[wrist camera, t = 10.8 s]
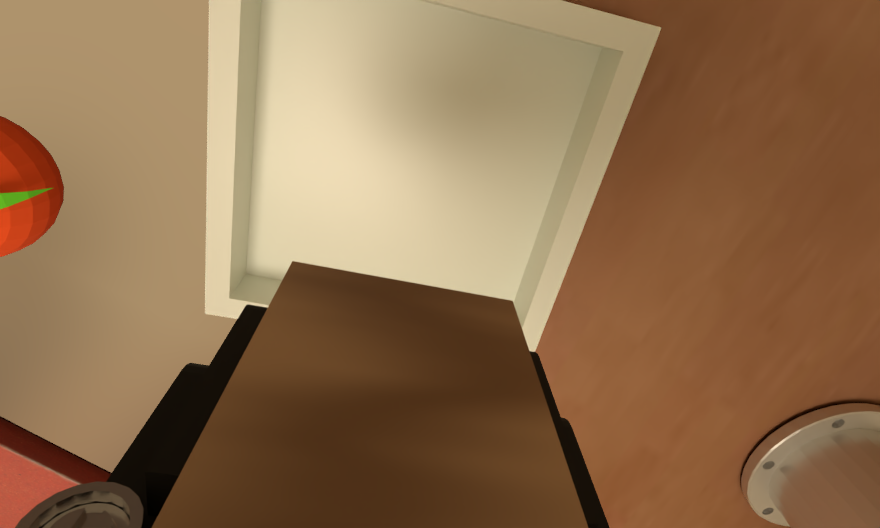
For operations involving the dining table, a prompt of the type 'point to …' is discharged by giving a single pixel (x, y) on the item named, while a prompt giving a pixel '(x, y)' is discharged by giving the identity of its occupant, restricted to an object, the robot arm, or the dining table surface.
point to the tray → (411, 142)
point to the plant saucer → (36, 471)
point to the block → (378, 417)
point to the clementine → (26, 188)
